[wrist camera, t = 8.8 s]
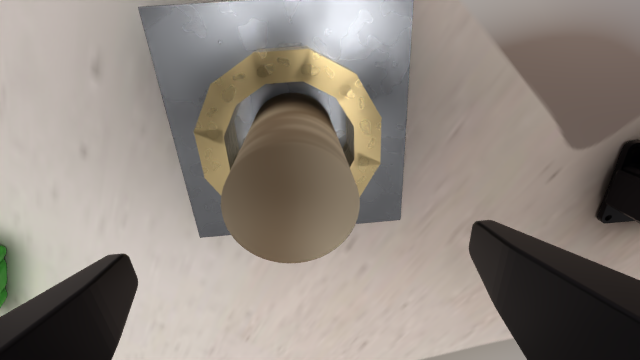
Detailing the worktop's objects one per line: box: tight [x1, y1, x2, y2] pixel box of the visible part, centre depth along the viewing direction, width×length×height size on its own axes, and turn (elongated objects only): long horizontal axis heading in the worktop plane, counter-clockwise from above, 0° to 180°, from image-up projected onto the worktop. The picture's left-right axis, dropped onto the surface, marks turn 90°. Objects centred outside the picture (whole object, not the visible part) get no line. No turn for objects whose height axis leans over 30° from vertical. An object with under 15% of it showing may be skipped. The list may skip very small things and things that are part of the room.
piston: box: [221, 93, 360, 263], centre depth 15 cm, size 5×5×9 cm
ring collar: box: [138, 0, 414, 238], centre depth 18 cm, size 14×14×4 cm
